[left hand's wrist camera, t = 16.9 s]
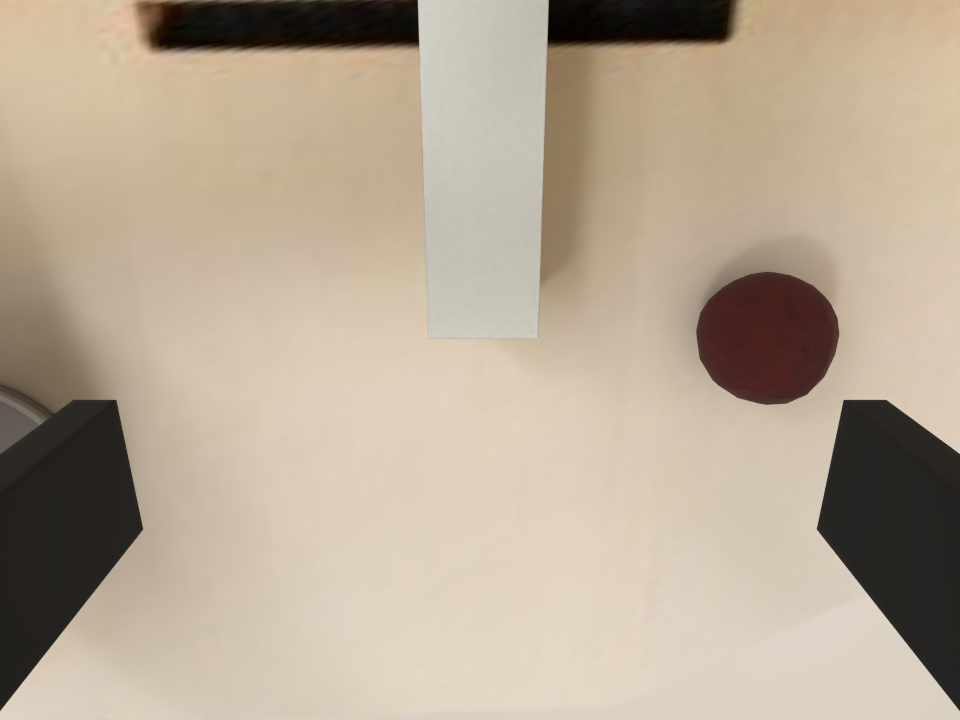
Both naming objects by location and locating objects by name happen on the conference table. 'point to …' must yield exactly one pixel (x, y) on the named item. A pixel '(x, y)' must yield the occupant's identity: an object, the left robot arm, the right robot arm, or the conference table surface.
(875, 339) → the conference table surface
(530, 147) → the post
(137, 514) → the left robot arm
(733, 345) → the potato
